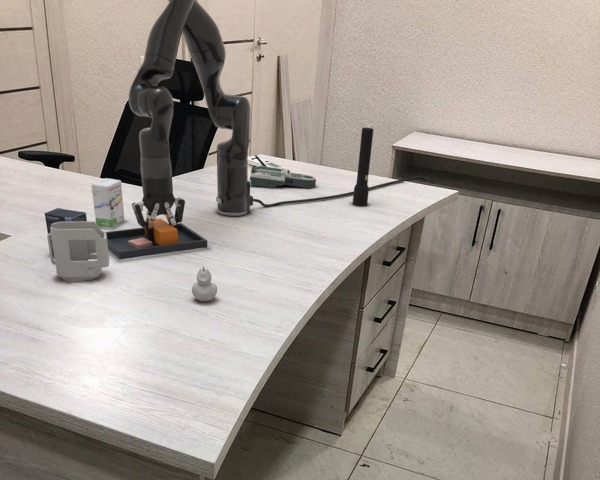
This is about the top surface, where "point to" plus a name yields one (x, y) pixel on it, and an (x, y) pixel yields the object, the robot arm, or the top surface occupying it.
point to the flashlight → (363, 169)
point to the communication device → (278, 177)
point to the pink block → (140, 243)
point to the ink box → (108, 202)
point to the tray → (124, 250)
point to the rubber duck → (204, 286)
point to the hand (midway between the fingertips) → (161, 239)
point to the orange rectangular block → (164, 233)
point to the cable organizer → (78, 249)
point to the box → (63, 218)
